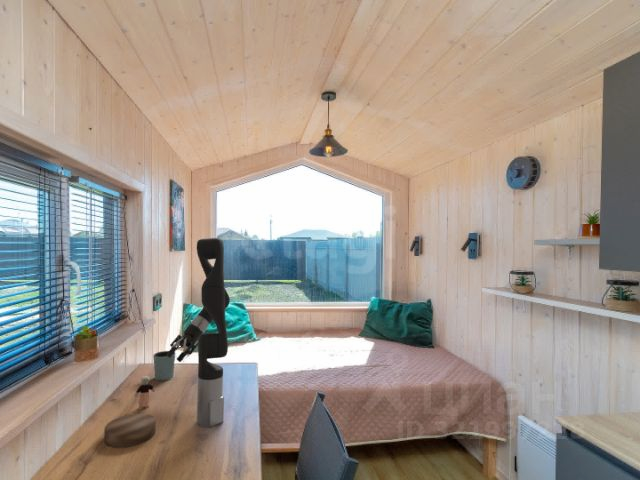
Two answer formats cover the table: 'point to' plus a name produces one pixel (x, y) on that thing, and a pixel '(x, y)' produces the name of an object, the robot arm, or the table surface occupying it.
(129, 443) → the walnut plinth
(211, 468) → the table surface
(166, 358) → the grey-green cup
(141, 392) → the grandmother figurine
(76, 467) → the table surface
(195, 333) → the robot arm
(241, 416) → the table surface
